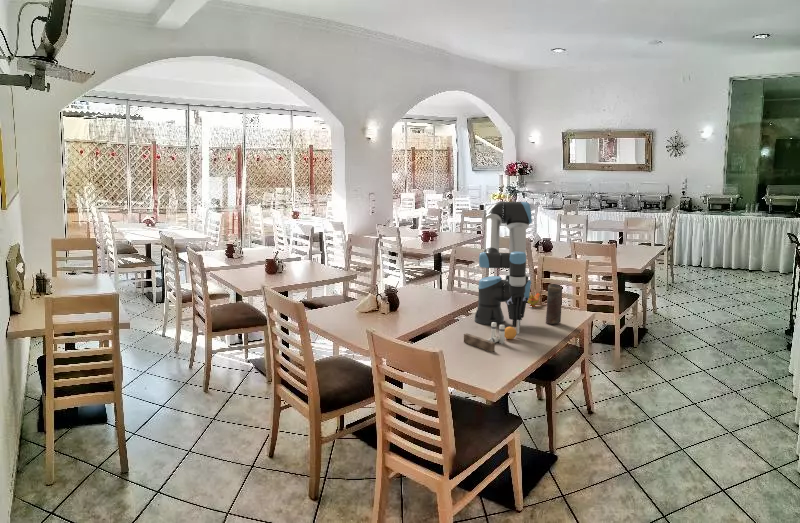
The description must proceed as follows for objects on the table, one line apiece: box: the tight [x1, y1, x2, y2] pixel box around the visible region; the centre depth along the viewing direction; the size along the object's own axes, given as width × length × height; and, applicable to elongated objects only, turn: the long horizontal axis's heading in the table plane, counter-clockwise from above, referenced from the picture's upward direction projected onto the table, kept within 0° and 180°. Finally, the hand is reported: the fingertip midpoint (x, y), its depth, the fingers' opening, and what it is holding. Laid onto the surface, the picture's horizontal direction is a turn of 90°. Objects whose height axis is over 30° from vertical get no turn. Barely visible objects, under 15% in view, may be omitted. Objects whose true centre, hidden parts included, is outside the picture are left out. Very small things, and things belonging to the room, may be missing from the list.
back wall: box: [463, 333, 496, 353], centre depth 269 cm, size 18×2×4 cm, turn 36°
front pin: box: [486, 336, 499, 344], centre depth 275 cm, size 2×2×8 cm
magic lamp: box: [526, 291, 542, 308], centre depth 340 cm, size 7×18×11 cm, turn 143°
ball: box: [505, 326, 517, 340], centre depth 279 cm, size 6×6×6 cm
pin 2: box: [498, 324, 506, 345], centre depth 273 cm, size 2×2×8 cm
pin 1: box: [490, 322, 498, 338], centre depth 277 cm, size 2×2×8 cm
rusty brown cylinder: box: [545, 283, 563, 325], centre depth 303 cm, size 8×7×20 cm
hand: (516, 333), depth 283 cm, fingers closed
